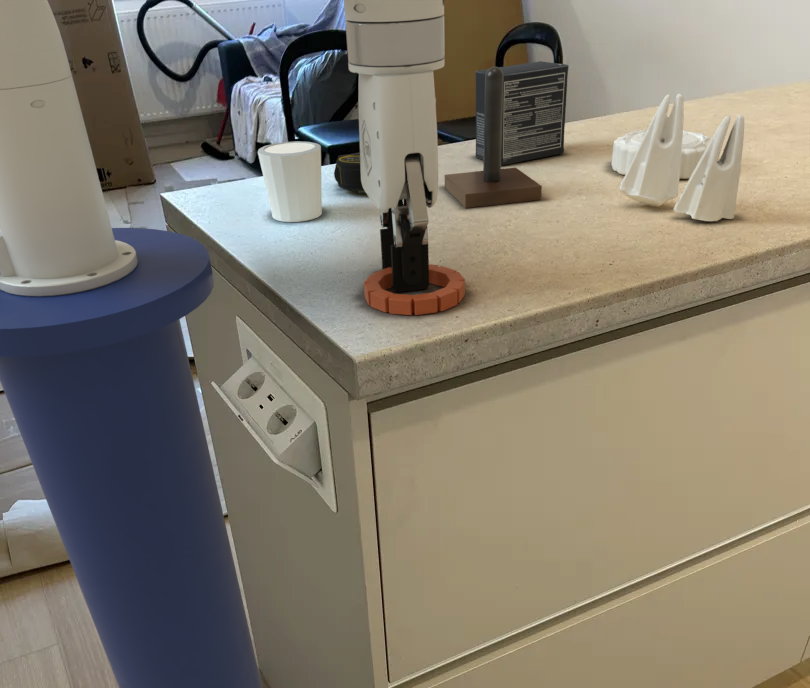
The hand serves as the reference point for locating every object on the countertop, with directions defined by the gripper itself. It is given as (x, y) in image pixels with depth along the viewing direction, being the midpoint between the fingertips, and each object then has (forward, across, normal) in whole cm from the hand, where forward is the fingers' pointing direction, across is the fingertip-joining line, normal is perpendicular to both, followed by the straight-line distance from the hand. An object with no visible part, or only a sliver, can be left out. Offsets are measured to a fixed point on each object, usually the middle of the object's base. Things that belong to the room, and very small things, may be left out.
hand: (405, 278), depth 73 cm
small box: (0, -40, +25) cm, 48 cm away
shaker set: (0, -10, +32) cm, 34 cm away
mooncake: (0, -27, +39) cm, 48 cm away
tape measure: (0, -32, +2) cm, 32 cm away
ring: (0, +4, 0) cm, 4 cm away
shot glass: (0, -24, -7) cm, 25 cm away
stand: (0, -24, +16) cm, 29 cm away
